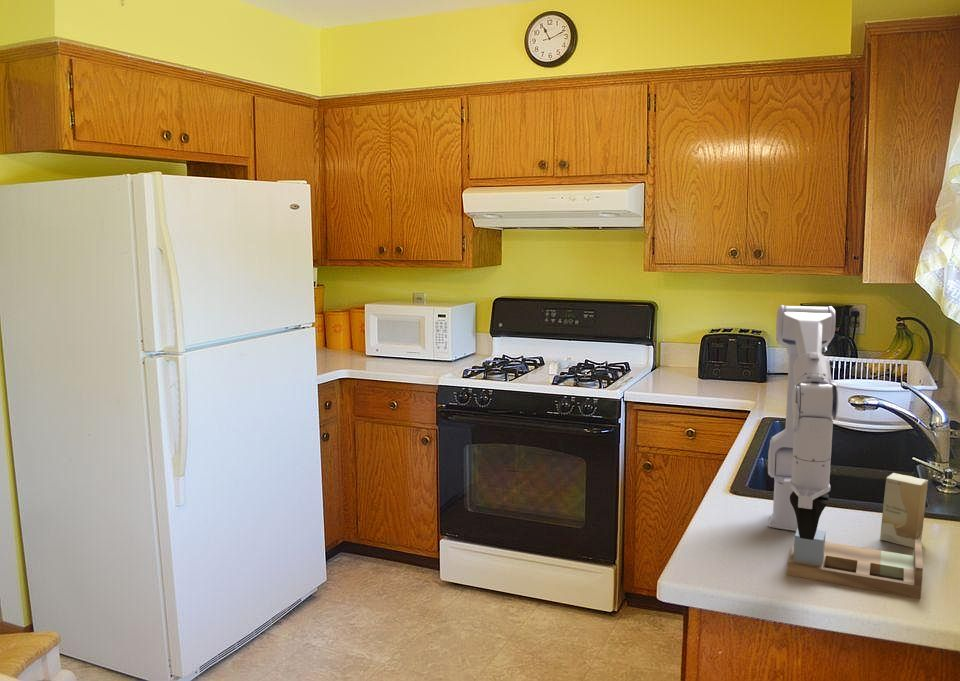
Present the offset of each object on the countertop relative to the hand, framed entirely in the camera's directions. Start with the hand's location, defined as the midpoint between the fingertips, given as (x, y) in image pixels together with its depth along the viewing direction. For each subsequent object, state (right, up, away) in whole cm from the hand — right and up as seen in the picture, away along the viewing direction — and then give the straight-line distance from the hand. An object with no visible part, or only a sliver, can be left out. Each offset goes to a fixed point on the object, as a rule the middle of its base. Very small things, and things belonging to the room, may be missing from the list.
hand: (806, 537), depth 136 cm
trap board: (+10, -7, +6) cm, 14 cm away
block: (+3, -5, +7) cm, 9 cm away
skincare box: (+25, -5, +19) cm, 32 cm away
